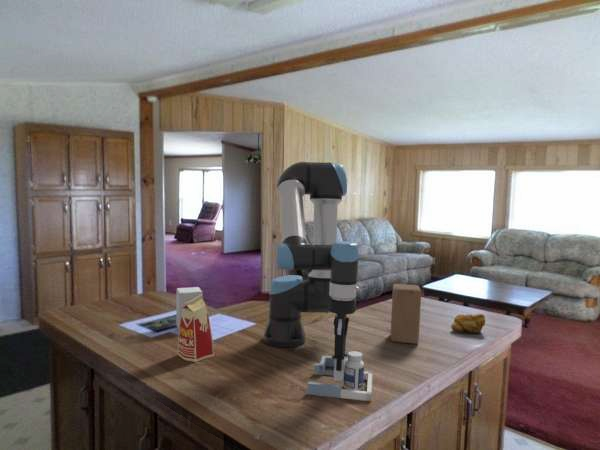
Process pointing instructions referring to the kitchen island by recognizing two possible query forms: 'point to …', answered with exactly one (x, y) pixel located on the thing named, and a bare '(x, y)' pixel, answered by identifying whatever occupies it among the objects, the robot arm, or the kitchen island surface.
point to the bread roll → (468, 323)
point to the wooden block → (405, 313)
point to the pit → (328, 371)
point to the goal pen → (359, 394)
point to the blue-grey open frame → (324, 388)
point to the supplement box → (185, 300)
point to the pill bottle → (354, 371)
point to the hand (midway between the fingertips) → (338, 380)
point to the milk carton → (195, 332)
